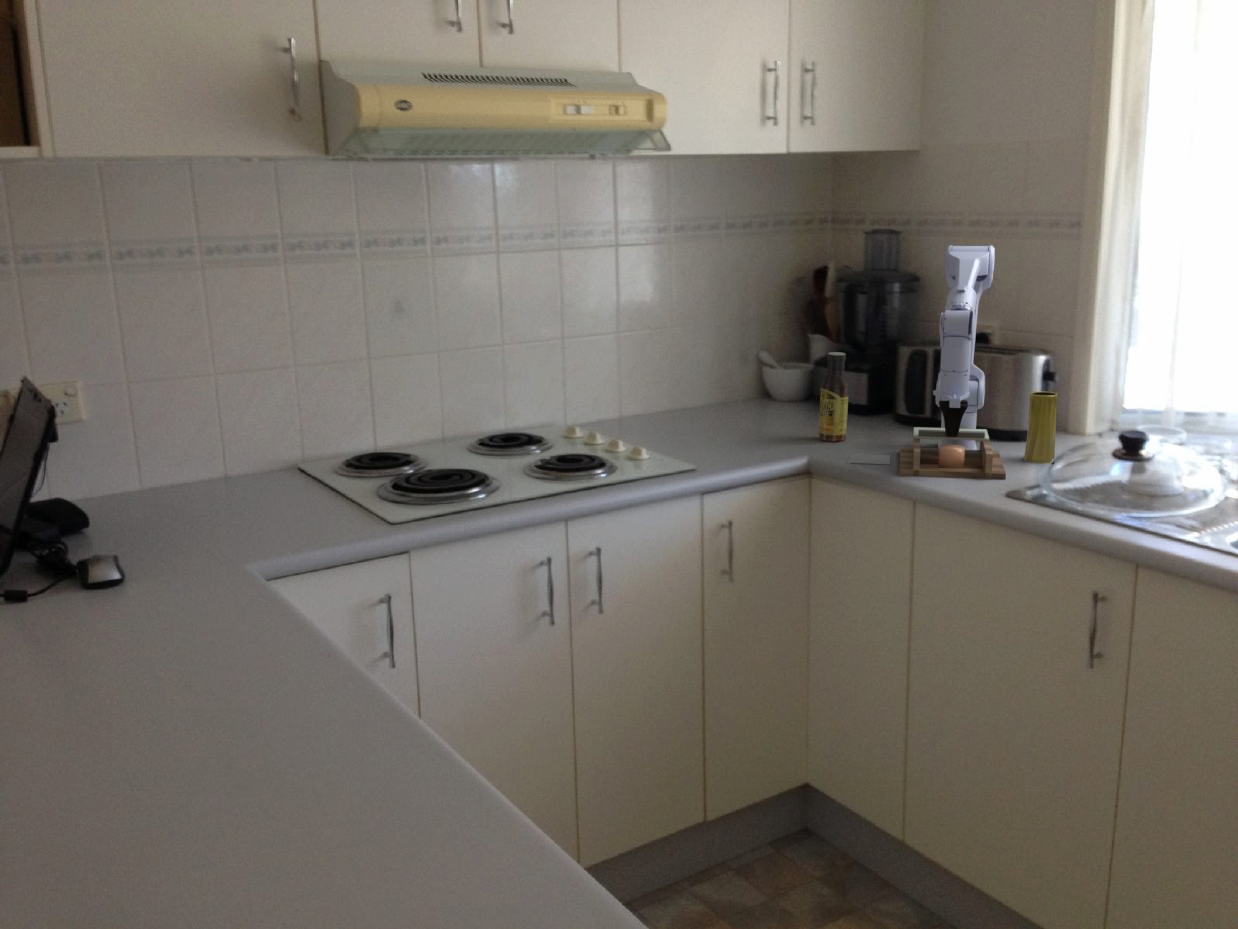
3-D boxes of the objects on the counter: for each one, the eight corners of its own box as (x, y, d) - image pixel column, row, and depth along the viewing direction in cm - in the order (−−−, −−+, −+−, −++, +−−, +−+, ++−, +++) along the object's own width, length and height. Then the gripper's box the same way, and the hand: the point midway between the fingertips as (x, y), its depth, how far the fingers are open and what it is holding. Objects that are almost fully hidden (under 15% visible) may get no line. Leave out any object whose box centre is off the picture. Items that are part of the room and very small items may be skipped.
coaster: (851, 456, 245) (851, 453, 245) (890, 458, 243) (890, 455, 243) (849, 465, 238) (850, 462, 238) (889, 466, 236) (889, 464, 236)
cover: (913, 429, 245) (914, 422, 245) (986, 431, 242) (986, 424, 241) (913, 438, 237) (914, 430, 236) (989, 440, 233) (989, 433, 233)
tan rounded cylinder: (937, 465, 234) (938, 444, 233) (963, 466, 233) (964, 445, 232) (938, 471, 230) (939, 449, 229) (964, 472, 229) (965, 450, 227)
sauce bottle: (813, 438, 263) (815, 352, 258) (835, 435, 266) (838, 350, 261) (829, 444, 257) (832, 355, 253) (852, 441, 260) (855, 353, 255)
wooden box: (900, 454, 247) (901, 429, 245) (997, 457, 242) (999, 432, 241) (899, 476, 228) (900, 450, 227) (1005, 481, 223) (1007, 454, 222)
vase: (1027, 456, 242) (1031, 389, 239) (1057, 459, 239) (1062, 392, 236) (1020, 462, 237) (1025, 394, 234) (1051, 466, 234) (1056, 397, 231)
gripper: (933, 364, 238) (930, 428, 242) (935, 375, 225) (931, 443, 228) (969, 364, 237) (965, 429, 240) (972, 376, 223) (969, 444, 226)
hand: (951, 436), depth 234 cm, fingers closed
